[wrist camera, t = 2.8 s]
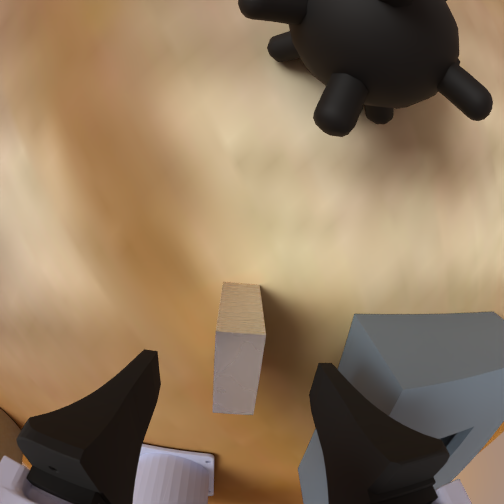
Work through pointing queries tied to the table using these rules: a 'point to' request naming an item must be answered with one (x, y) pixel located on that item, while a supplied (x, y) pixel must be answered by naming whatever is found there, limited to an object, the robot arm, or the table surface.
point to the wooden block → (238, 349)
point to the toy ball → (373, 56)
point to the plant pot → (9, 438)
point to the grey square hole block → (423, 383)
